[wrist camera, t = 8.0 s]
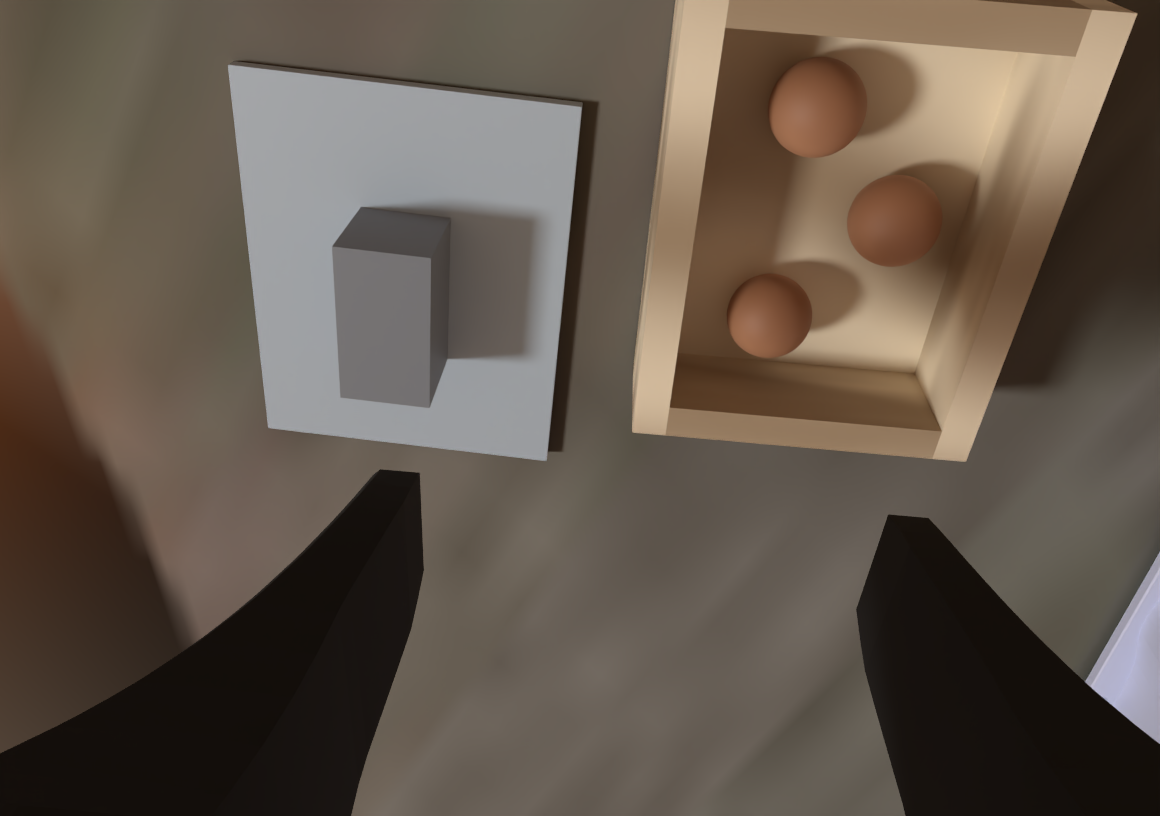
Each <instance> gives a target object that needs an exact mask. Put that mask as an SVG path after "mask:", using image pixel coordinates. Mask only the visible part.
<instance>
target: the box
mask: <svg viewBox="0 0 1160 816" xmlns="http://www.w3.org/2000/svg"><path fill="white" fill-rule="evenodd" d="M1137 14H1138V13H1135V12H1133V11H1131V10H1128V9H1126V8H1124V7H1121V6H1119V5H1116V4H1114V3H1112V2H1109V1H1107V0H676V1H675V9H674V18H673V27H672V35H671V44H670V52H669V61H668V70H667V78H666V87H665V96H664V104H663V113H662V121H661V130H660V139H659V147H658V156H657V165H656V173H655V182H654V190H653V199H652V208H651V216H650V225H649V234H648V242H647V251H646V259H645V268H644V277H643V285H642V294H641V303H640V311H639V320H638V328H637V337H636V346H635V354H634V363H633V413H632V432H634V433H646V434H657V435H668V436H680V437H691V438H702V439H714V440H725V441H736V442H748V443H759V444H770V445H782V446H793V447H804V448H816V449H827V450H838V451H850V452H861V453H872V454H884V455H895V456H907V457H918V458H929V459H941V460H952V461H963V462H966V460H967V457H968V455H969V452H970V449H971V447H972V444H973V442H974V439H975V436H976V434H977V431H978V429H979V426H980V423H981V421H982V418H983V416H984V413H985V410H986V408H987V405H988V403H989V400H990V397H991V395H992V392H993V389H994V387H995V384H996V382H997V379H998V376H999V374H1000V371H1001V369H1002V366H1003V363H1004V361H1005V358H1006V356H1007V353H1008V350H1009V348H1010V345H1011V342H1012V340H1013V337H1014V335H1015V332H1016V329H1017V327H1018V324H1019V322H1020V319H1021V316H1022V314H1023V311H1024V309H1025V306H1026V303H1027V301H1028V298H1029V296H1030V293H1031V290H1032V288H1033V285H1034V282H1035V280H1036V277H1037V275H1038V272H1039V269H1040V267H1041V264H1042V262H1043V259H1044V256H1045V254H1046V251H1047V249H1048V246H1049V243H1050V241H1051V238H1052V235H1053V233H1054V230H1055V228H1056V225H1057V222H1058V220H1059V217H1060V215H1061V212H1062V209H1063V207H1064V204H1065V202H1066V199H1067V196H1068V194H1069V191H1070V188H1071V186H1072V183H1073V181H1074V178H1075V175H1076V173H1077V170H1078V168H1079V165H1080V162H1081V160H1082V157H1083V155H1084V152H1085V149H1086V147H1087V144H1088V142H1089V139H1090V136H1091V134H1092V131H1093V128H1094V126H1095V123H1096V121H1097V118H1098V115H1099V113H1100V110H1101V108H1102V105H1103V102H1104V100H1105V97H1106V95H1107V92H1108V89H1109V87H1110V84H1111V81H1112V79H1113V76H1114V74H1115V71H1116V68H1117V66H1118V63H1119V61H1120V58H1121V55H1122V53H1123V50H1124V48H1125V45H1126V42H1127V40H1128V37H1129V35H1130V32H1131V29H1132V27H1133V24H1134V21H1135V19H1136V16H1137Z"/></svg>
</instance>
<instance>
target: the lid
mask: <svg viewBox="0 0 1160 816" xmlns="http://www.w3.org/2000/svg"><path fill="white" fill-rule="evenodd" d="M228 70H229V79H230V88H231V97H232V106H233V115H234V124H235V133H236V142H237V151H238V160H239V169H240V178H241V187H242V196H243V205H244V214H245V223H246V232H247V241H248V250H249V259H250V267H251V276H252V285H253V294H254V303H255V312H256V321H257V330H258V339H259V348H260V357H261V366H262V375H263V384H264V393H265V402H266V411H267V420H268V428H273V429H282V430H290V431H298V432H307V433H315V434H324V435H332V436H341V437H349V438H357V439H366V440H374V441H383V442H391V443H400V444H408V445H416V446H425V447H433V448H442V449H450V450H458V451H467V452H475V453H484V454H492V455H501V456H509V457H517V458H526V459H534V460H543V461H547V454H548V446H549V436H550V426H551V416H552V406H553V396H554V386H555V376H556V366H557V356H558V346H559V336H560V326H561V316H562V306H563V296H564V286H565V276H566V266H567V255H568V245H569V235H570V225H571V215H572V205H573V195H574V185H575V175H576V165H577V155H578V145H579V135H580V125H581V115H582V105H583V102H575V101H567V100H559V99H550V98H542V97H533V96H525V95H516V94H508V93H499V92H491V91H482V90H474V89H466V88H457V87H449V86H440V85H432V84H423V83H415V82H406V81H398V80H389V79H381V78H373V77H364V76H356V75H347V74H339V73H330V72H322V71H313V70H305V69H296V68H288V67H280V66H271V65H263V64H254V63H246V62H237V61H233V62H232V63H230V64H228Z"/></svg>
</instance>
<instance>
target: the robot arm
mask: <svg viewBox="0 0 1160 816" xmlns="http://www.w3.org/2000/svg"><path fill="white" fill-rule="evenodd" d="M423 571H424V566H423V543H422V519H421V495H420V473H415V472H403V471H392V470H381V469H380V470H379V471H378V472H376V473H375V474H374V475H373V476H372V477H371V478H370V479H369V481H368V482H367V483H366V484H365V485H364V486H363V488H362V489H361V490H360V491H359V492H358V493H357V494H356V496H355V497H354V498H353V499H352V500H351V501H350V502H349V503H348V505H347V506H346V507H345V508H344V509H343V510H342V511H341V512H340V513H339V514H338V516H337V517H336V518H335V519H334V520H333V521H332V522H331V523H330V524H329V525H328V526H327V527H326V528H325V529H324V530H323V531H322V532H321V533H320V535H319V536H318V537H317V538H316V539H315V540H314V541H313V542H312V543H311V544H310V545H309V546H308V547H307V548H306V549H305V550H304V551H303V552H302V553H301V554H300V555H299V556H298V557H297V558H296V559H295V560H294V561H293V562H292V563H291V564H289V565H288V566H287V567H286V568H285V569H284V570H283V571H282V572H281V573H280V574H278V575H277V576H276V577H275V578H274V579H273V580H272V581H271V582H270V583H269V584H268V585H266V586H265V587H264V588H263V589H262V590H261V591H260V592H259V593H258V594H256V595H255V596H254V597H253V598H252V599H251V600H249V601H248V602H247V603H246V604H245V605H243V606H242V607H241V608H240V609H239V610H237V611H236V612H235V613H234V614H232V615H231V616H230V617H229V618H227V619H226V620H225V621H224V622H222V623H221V624H220V625H218V626H217V627H216V628H214V629H213V630H212V631H211V632H209V633H208V634H207V635H205V636H204V637H203V638H201V639H200V640H198V641H197V642H196V643H194V644H193V645H191V646H190V647H188V648H187V649H186V650H184V651H183V652H181V653H180V654H178V655H177V656H176V657H174V658H173V659H171V660H170V661H168V662H167V663H165V664H164V665H162V666H161V667H159V668H158V669H156V670H154V671H153V672H151V673H150V674H148V675H147V676H145V677H144V678H142V679H141V680H139V681H137V682H136V683H134V684H132V685H131V686H129V687H127V688H125V689H124V690H122V691H120V692H119V693H117V694H115V695H114V696H112V697H110V698H109V699H107V700H105V701H103V702H101V703H99V704H97V705H96V706H94V707H92V708H90V709H88V710H87V711H85V712H83V713H81V714H79V715H77V716H76V717H74V718H72V719H70V720H68V721H66V722H64V723H62V724H60V725H58V726H57V727H54V728H52V729H50V730H48V731H46V732H44V733H42V734H40V735H38V736H35V737H33V738H31V739H29V740H27V741H25V742H23V743H21V744H19V745H17V746H15V747H13V748H11V749H8V750H7V751H4V752H2V753H0V816H351V813H352V809H353V805H354V801H355V797H356V793H357V788H358V784H359V781H360V778H361V774H362V771H363V768H364V764H365V761H366V758H367V755H368V752H369V749H370V746H371V743H372V740H373V737H374V735H375V732H376V729H377V726H378V723H379V720H380V717H381V715H382V712H383V709H384V706H385V703H386V700H387V697H388V694H389V692H390V689H391V686H392V683H393V680H394V677H395V674H396V672H397V669H398V666H399V663H400V660H401V657H402V654H403V651H404V648H405V645H406V642H407V639H408V636H409V634H410V631H411V627H412V622H413V618H414V614H415V609H416V605H417V600H418V595H419V590H420V586H421V581H422V576H423ZM856 610H857V618H858V625H859V633H860V641H861V648H862V654H863V660H864V667H865V672H866V676H867V679H868V683H869V687H870V691H871V694H872V698H873V701H874V705H875V709H876V712H877V716H878V719H879V723H880V726H881V730H882V733H883V737H884V740H885V744H886V747H887V751H888V754H889V758H890V761H891V765H892V768H893V772H894V775H895V779H896V782H897V786H898V789H899V793H900V796H901V800H902V803H903V807H904V811H905V815H906V816H1160V553H1159V554H1158V556H1157V558H1156V559H1155V561H1154V563H1153V565H1152V566H1151V568H1150V570H1149V572H1148V573H1147V575H1146V577H1145V579H1144V580H1143V582H1142V584H1141V586H1140V587H1139V589H1138V591H1137V593H1136V594H1135V596H1134V598H1133V600H1132V601H1131V603H1130V605H1129V606H1128V608H1127V610H1126V612H1125V613H1124V615H1123V617H1122V619H1121V620H1120V622H1119V624H1118V626H1117V627H1116V629H1115V631H1114V633H1113V634H1112V636H1111V638H1110V640H1109V641H1108V643H1107V645H1106V647H1105V648H1104V650H1103V652H1102V654H1101V655H1100V657H1099V659H1098V660H1097V662H1096V664H1095V666H1094V667H1093V669H1092V671H1091V673H1090V674H1089V676H1088V678H1087V680H1086V681H1085V682H1084V681H1083V680H1082V679H1081V678H1080V677H1079V676H1078V675H1077V674H1076V673H1075V672H1073V671H1072V670H1071V669H1070V668H1069V667H1068V666H1067V665H1066V664H1065V663H1064V662H1063V661H1062V660H1061V659H1060V658H1059V657H1058V656H1057V655H1056V654H1055V653H1054V652H1053V651H1052V650H1051V649H1049V648H1048V647H1047V646H1046V645H1045V644H1044V643H1043V642H1042V641H1041V640H1040V639H1039V638H1038V637H1037V636H1036V635H1035V634H1034V633H1033V632H1032V631H1031V630H1030V629H1029V628H1028V627H1027V626H1026V625H1025V624H1024V622H1023V621H1022V620H1021V619H1020V618H1019V617H1018V616H1017V615H1016V614H1015V613H1014V612H1013V611H1012V610H1011V609H1010V608H1009V607H1008V606H1007V605H1006V603H1005V602H1004V601H1003V600H1002V599H1001V598H1000V597H999V596H998V595H997V594H996V593H995V592H994V590H993V589H992V588H991V587H990V586H989V585H988V584H987V583H986V582H985V581H984V579H983V578H982V577H981V576H980V575H979V574H978V573H977V572H976V571H975V569H974V568H973V567H972V566H971V565H970V564H969V563H968V562H967V560H966V559H965V558H964V557H963V556H962V555H961V554H960V553H959V551H958V550H957V549H956V548H955V547H954V546H953V545H952V543H951V542H950V541H949V540H948V539H947V538H946V537H945V536H944V534H943V533H942V532H941V531H940V530H939V529H938V528H937V527H936V526H935V525H934V524H933V523H932V521H931V520H930V519H929V518H921V517H909V516H898V515H888V517H887V520H886V523H885V526H884V529H883V532H882V535H881V538H880V541H879V544H878V547H877V550H876V553H875V556H874V559H873V562H872V565H871V568H870V571H869V574H868V577H867V579H866V582H865V585H864V588H863V591H862V594H861V597H860V600H859V603H858V606H857V609H856Z"/></svg>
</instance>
